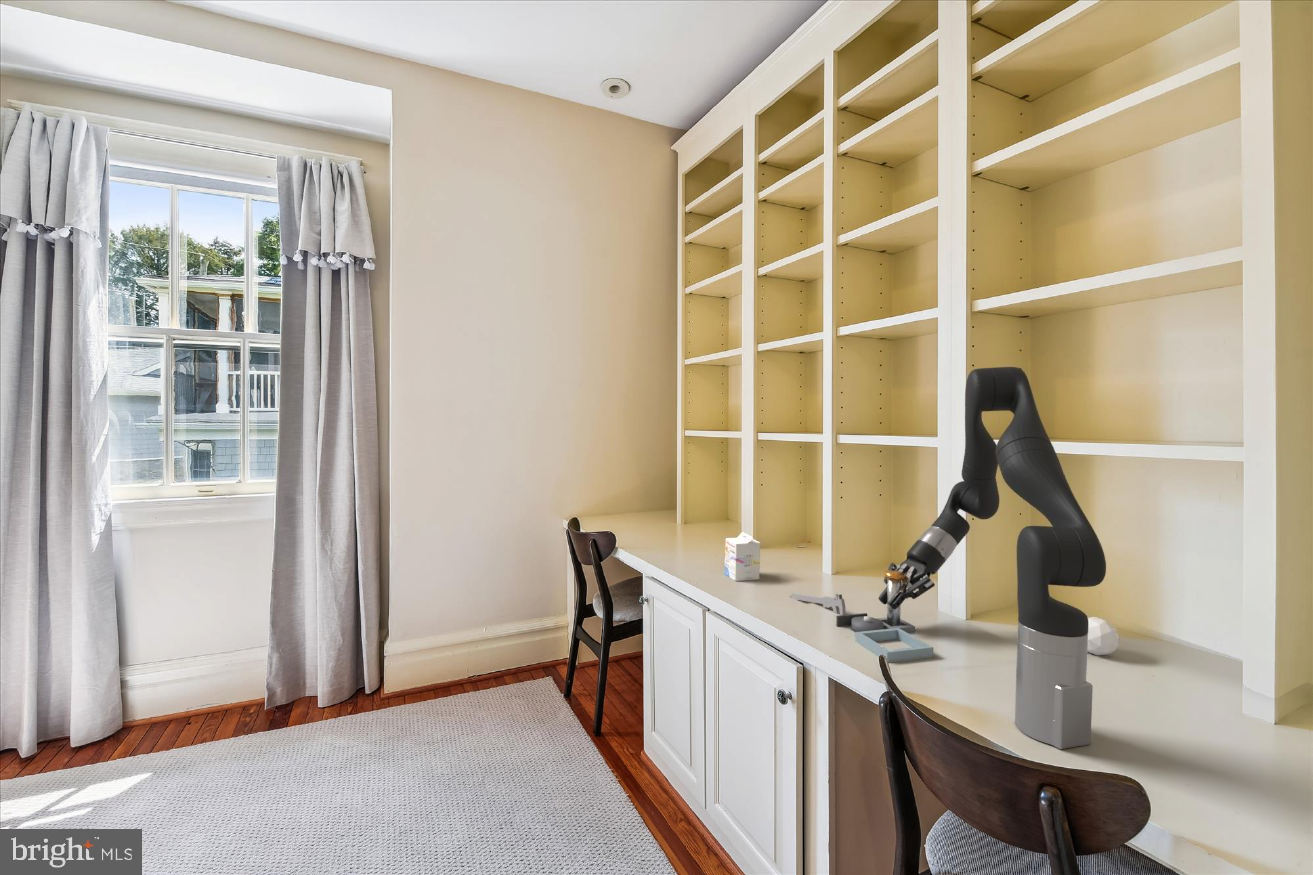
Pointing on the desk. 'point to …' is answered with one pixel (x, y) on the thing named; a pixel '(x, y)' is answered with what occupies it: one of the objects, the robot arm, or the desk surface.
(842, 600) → the caliper
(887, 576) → the pin
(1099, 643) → the geometric ball
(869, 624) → the plate
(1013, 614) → the desk surface
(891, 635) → the tray
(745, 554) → the ink box
